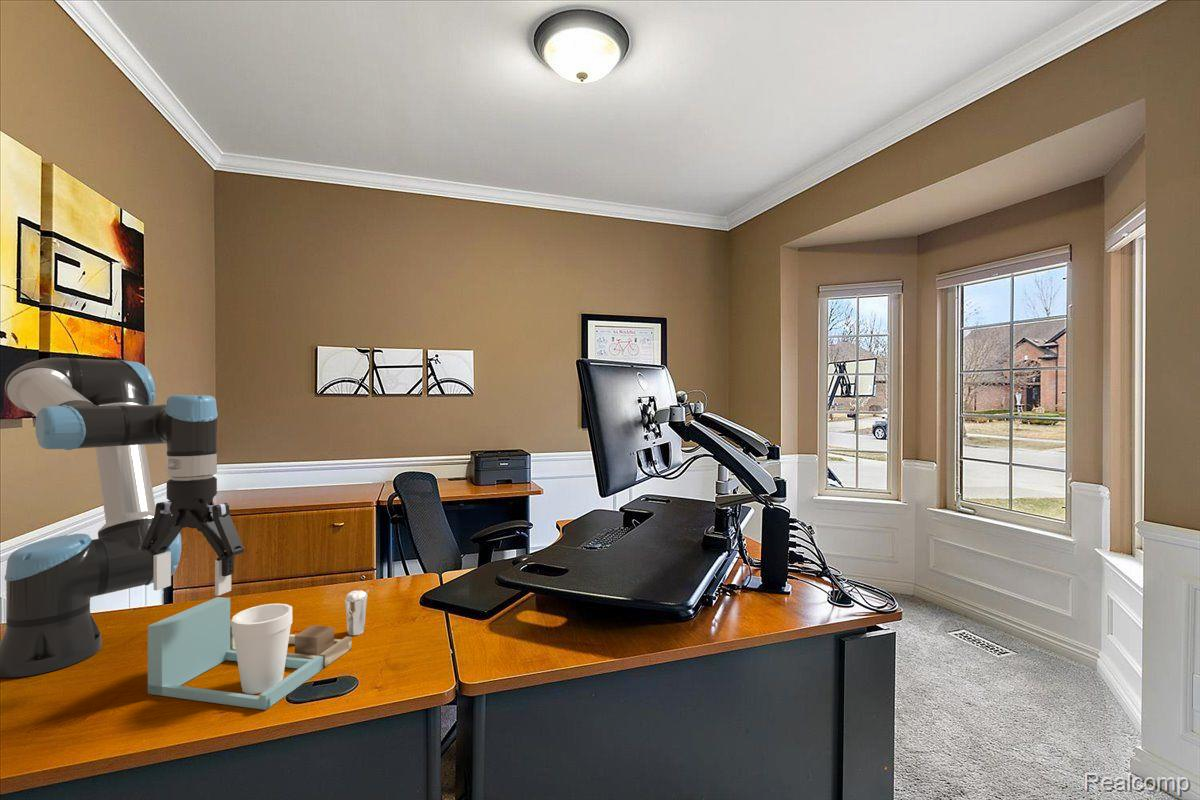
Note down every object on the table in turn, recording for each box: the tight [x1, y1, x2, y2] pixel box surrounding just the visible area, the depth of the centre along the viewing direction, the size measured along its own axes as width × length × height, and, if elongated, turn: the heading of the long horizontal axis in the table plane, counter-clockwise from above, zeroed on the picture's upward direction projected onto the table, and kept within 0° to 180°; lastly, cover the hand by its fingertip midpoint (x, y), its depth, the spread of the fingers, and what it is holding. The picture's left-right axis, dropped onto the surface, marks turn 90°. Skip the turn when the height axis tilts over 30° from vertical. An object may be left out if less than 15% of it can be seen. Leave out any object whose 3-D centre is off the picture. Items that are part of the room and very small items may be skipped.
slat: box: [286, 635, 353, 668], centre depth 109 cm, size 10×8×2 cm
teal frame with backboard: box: [147, 596, 324, 711], centre depth 99 cm, size 24×14×12 cm, turn 79°
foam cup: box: [231, 602, 293, 695], centre depth 98 cm, size 10×9×13 cm
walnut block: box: [294, 624, 335, 656], centre depth 109 cm, size 5×5×5 cm
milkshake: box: [344, 588, 370, 637], centre depth 119 cm, size 4×5×10 cm
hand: (192, 590), depth 101 cm, fingers open, 13 cm apart
